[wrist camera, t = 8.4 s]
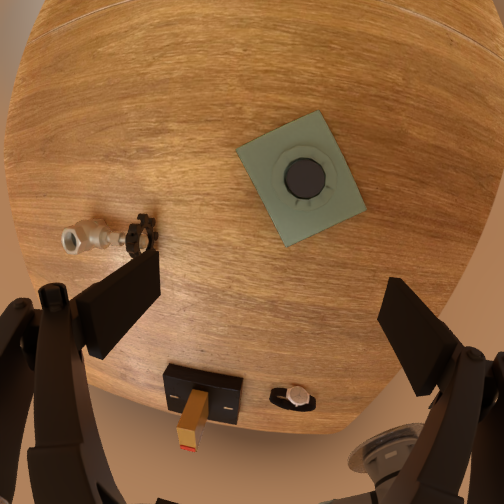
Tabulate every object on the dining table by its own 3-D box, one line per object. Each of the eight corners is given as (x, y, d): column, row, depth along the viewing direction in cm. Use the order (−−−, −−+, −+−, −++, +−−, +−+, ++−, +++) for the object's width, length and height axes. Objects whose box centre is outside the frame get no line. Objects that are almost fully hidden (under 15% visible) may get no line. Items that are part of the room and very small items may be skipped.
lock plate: (243, 377, 39) (240, 391, 36) (239, 412, 41) (236, 425, 38) (169, 363, 39) (162, 375, 36) (173, 398, 42) (167, 410, 39)
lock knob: (192, 388, 37) (175, 428, 29) (208, 392, 36) (194, 432, 29) (193, 411, 38) (179, 449, 31) (208, 415, 38) (196, 453, 30)
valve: (90, 250, 35) (159, 259, 34) (62, 264, 29) (135, 278, 28) (87, 206, 33) (158, 209, 32) (57, 214, 27) (132, 218, 26)
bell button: (328, 187, 26) (331, 188, 24) (296, 202, 27) (297, 204, 25) (312, 154, 25) (314, 153, 24) (280, 170, 26) (280, 169, 24)
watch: (321, 391, 38) (323, 407, 34) (307, 408, 39) (307, 423, 36) (277, 378, 38) (276, 394, 34) (265, 396, 39) (263, 412, 36)
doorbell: (361, 207, 30) (372, 212, 26) (285, 242, 32) (285, 252, 28) (316, 113, 27) (321, 105, 23) (238, 150, 29) (232, 147, 26)
